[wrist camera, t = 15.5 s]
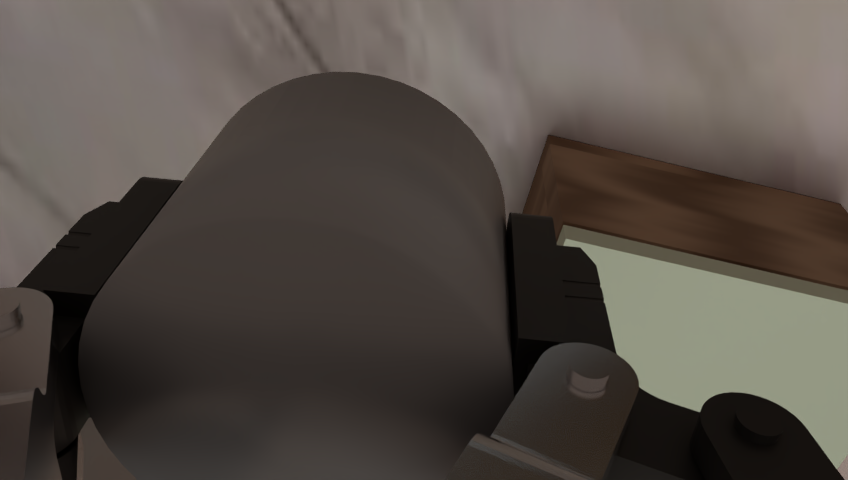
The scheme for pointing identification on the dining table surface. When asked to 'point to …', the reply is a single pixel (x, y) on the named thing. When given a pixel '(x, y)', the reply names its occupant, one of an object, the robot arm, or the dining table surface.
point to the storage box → (690, 212)
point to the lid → (725, 331)
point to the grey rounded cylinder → (311, 297)
